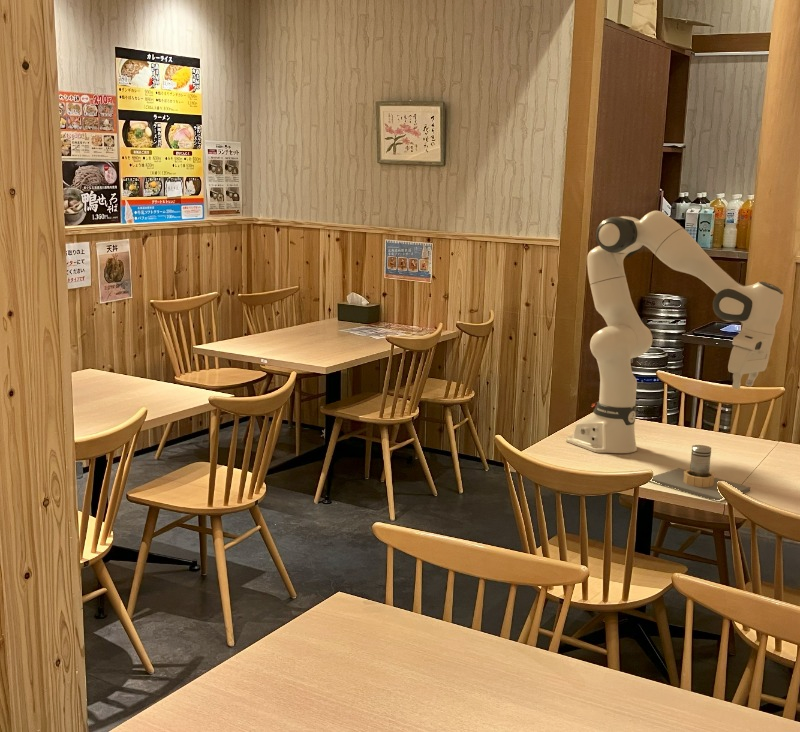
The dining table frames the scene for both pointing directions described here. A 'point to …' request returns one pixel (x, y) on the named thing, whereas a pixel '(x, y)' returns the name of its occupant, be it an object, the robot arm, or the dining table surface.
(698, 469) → the piston
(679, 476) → the collar plate
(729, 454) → the dining table surface
